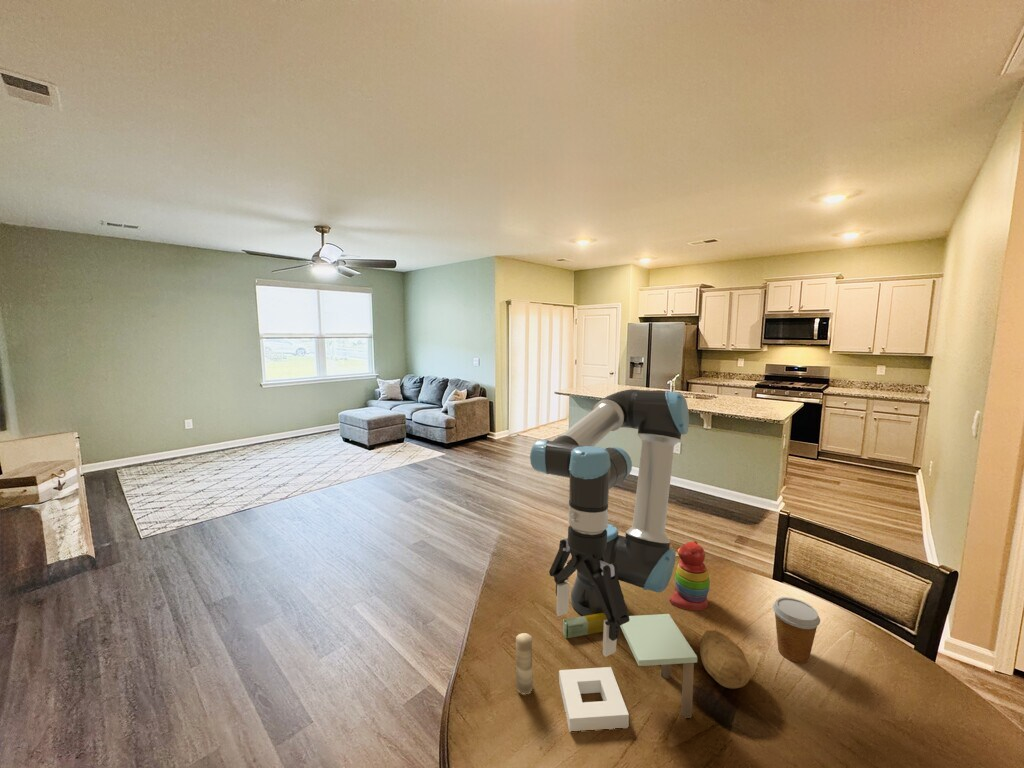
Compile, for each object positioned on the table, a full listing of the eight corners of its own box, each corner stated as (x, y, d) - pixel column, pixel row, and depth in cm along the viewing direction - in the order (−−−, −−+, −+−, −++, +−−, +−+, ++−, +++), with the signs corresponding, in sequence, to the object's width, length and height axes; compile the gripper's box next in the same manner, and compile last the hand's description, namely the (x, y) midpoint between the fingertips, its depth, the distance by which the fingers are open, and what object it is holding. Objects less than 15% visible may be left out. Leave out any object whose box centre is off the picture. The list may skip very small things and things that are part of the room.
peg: (516, 682, 94) (515, 633, 92) (531, 681, 94) (531, 632, 93) (517, 695, 90) (516, 645, 89) (533, 694, 90) (532, 644, 89)
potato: (728, 652, 102) (730, 622, 101) (761, 702, 88) (763, 668, 87) (688, 652, 102) (690, 622, 101) (715, 702, 88) (716, 667, 87)
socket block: (559, 682, 93) (559, 670, 93) (610, 678, 94) (610, 666, 94) (569, 732, 82) (569, 718, 81) (628, 728, 82) (628, 714, 82)
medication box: (565, 639, 107) (566, 625, 106) (562, 632, 110) (562, 618, 109) (608, 631, 110) (608, 618, 109) (603, 624, 112) (603, 611, 112)
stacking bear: (677, 585, 129) (678, 531, 127) (712, 597, 123) (714, 540, 121) (667, 603, 120) (669, 546, 118) (704, 616, 115) (707, 556, 113)
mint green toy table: (617, 673, 96) (618, 616, 94) (667, 669, 96) (668, 613, 95) (637, 725, 83) (638, 660, 81) (694, 720, 84) (697, 656, 82)
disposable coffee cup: (825, 671, 95) (829, 623, 94) (780, 665, 97) (783, 618, 96) (805, 642, 105) (808, 598, 103) (764, 637, 106) (766, 594, 105)
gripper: (534, 510, 88) (532, 605, 89) (622, 558, 67) (618, 682, 68) (561, 504, 92) (559, 595, 93) (653, 548, 71) (648, 665, 72)
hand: (584, 632), depth 81 cm, fingers open, 13 cm apart
